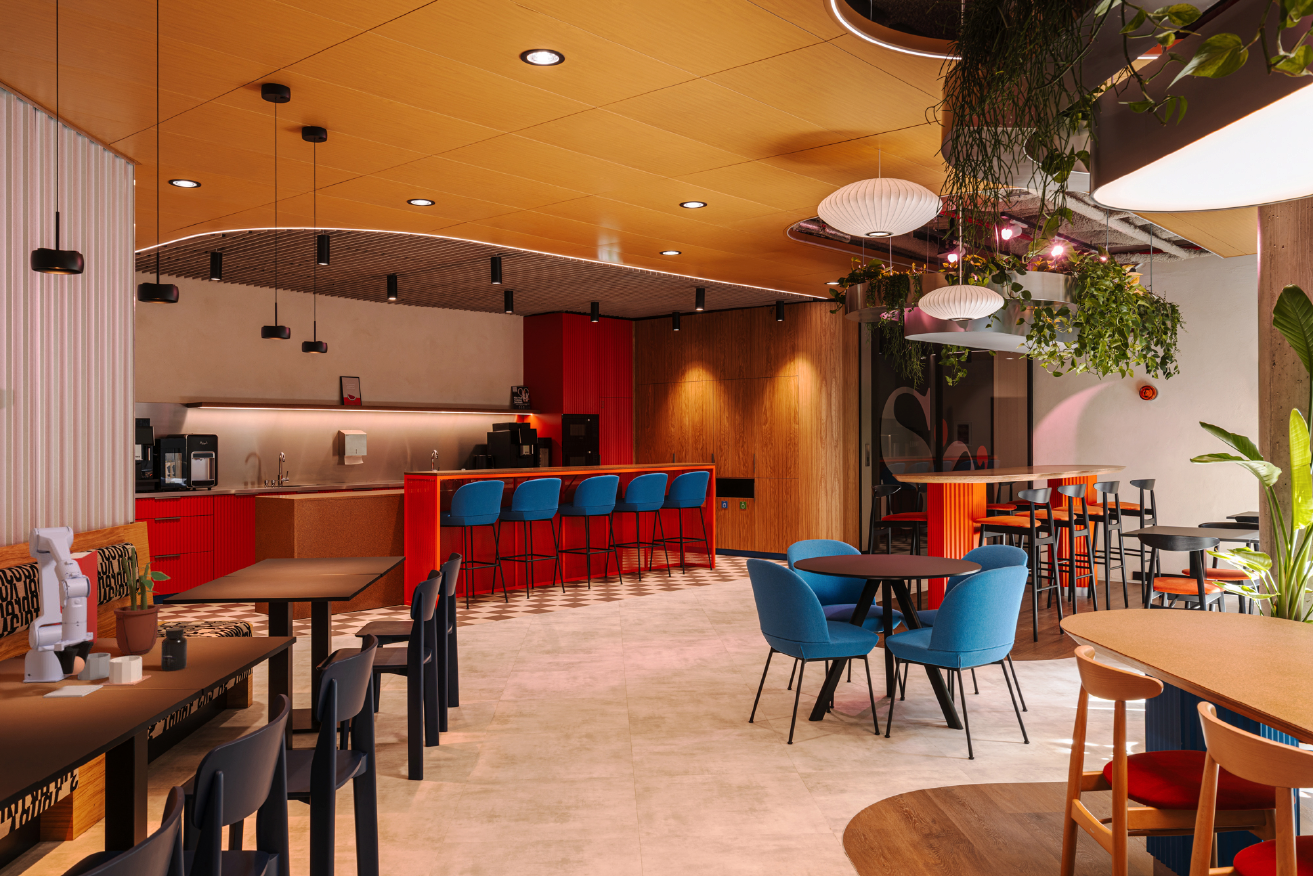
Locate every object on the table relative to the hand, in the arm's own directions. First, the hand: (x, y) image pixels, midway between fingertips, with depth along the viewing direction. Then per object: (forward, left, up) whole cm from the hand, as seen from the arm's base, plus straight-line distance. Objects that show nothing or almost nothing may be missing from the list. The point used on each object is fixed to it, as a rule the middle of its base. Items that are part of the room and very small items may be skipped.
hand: (73, 671), depth 241 cm
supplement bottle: (+15, +25, -6) cm, 30 cm away
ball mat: (0, 0, -6) cm, 6 cm away
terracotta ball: (0, 0, +2) cm, 2 cm away
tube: (+8, +11, -6) cm, 15 cm away
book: (-30, +53, -6) cm, 61 cm away
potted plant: (-8, +49, -6) cm, 50 cm away
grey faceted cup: (-4, +17, -6) cm, 18 cm away
